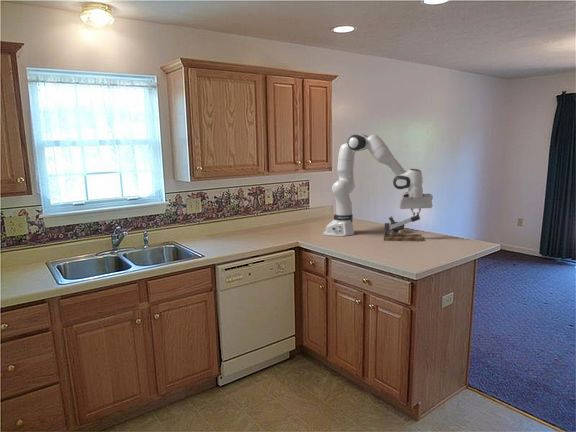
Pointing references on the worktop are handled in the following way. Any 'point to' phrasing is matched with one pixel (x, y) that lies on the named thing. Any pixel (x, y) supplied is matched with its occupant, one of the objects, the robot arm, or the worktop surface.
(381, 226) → the worktop surface
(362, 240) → the worktop surface
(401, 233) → the smooth brown ball
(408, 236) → the base
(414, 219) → the lever
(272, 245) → the worktop surface
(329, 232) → the robot arm
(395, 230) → the mortar and pestle
